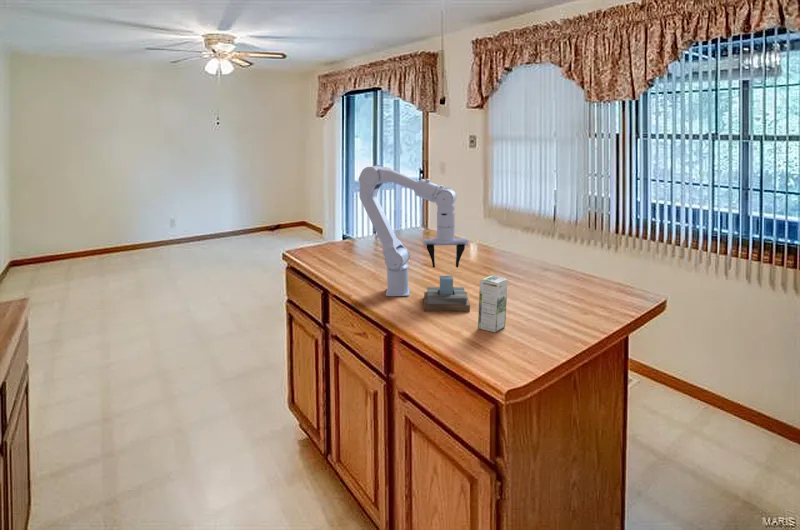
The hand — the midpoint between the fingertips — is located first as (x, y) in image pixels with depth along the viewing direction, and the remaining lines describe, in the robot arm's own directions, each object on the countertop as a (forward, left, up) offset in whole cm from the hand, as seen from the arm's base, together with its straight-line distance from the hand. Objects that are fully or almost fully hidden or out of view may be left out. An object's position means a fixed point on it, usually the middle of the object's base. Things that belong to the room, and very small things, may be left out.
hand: (445, 266), depth 178 cm
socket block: (+8, 0, -10) cm, 13 cm away
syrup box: (+29, +12, -11) cm, 33 cm away
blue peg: (+8, 0, -8) cm, 12 cm away
